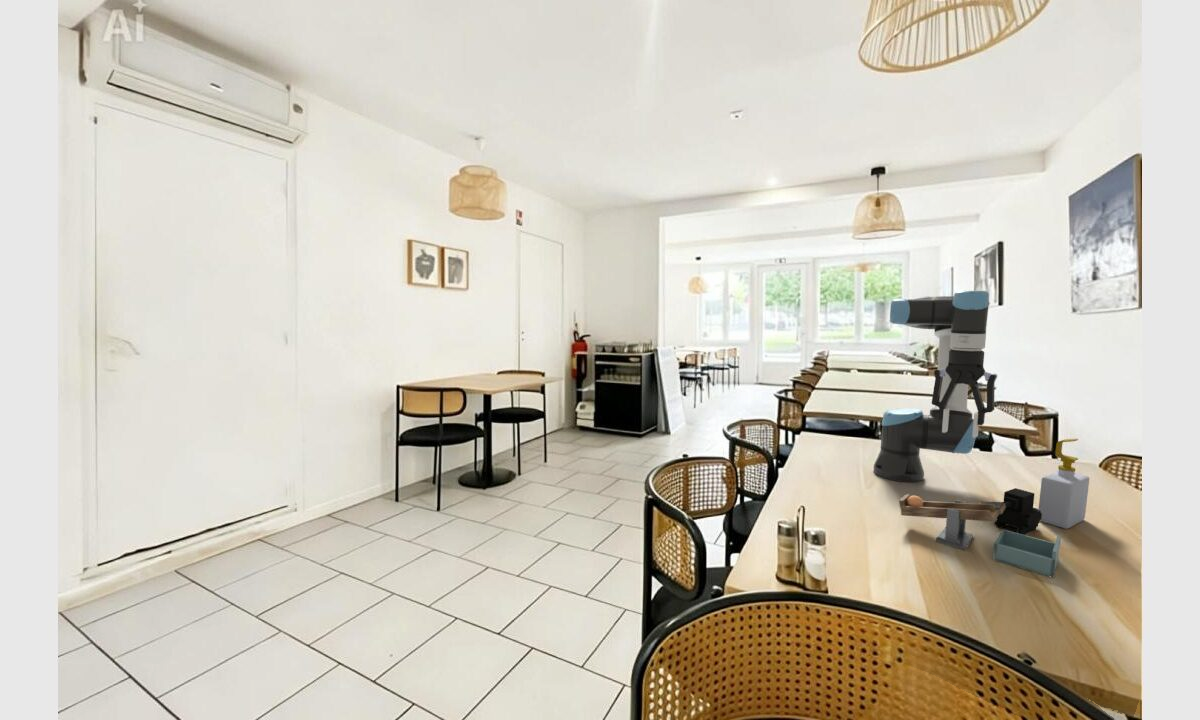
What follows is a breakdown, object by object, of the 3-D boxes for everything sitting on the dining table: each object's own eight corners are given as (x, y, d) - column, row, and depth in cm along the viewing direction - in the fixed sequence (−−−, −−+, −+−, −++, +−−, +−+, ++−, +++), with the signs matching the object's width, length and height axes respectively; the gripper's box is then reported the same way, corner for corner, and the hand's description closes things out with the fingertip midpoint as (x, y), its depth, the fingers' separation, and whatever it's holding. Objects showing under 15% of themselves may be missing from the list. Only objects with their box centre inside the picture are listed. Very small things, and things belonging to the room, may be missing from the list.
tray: (992, 559, 116) (994, 535, 115) (1000, 544, 123) (1002, 521, 122) (1053, 577, 108) (1056, 552, 107) (1058, 560, 115) (1061, 536, 114)
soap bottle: (1067, 530, 130) (1077, 444, 127) (1036, 520, 136) (1044, 438, 133) (1085, 520, 136) (1095, 438, 133) (1054, 511, 142) (1063, 432, 139)
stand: (935, 541, 124) (938, 508, 123) (945, 529, 131) (948, 497, 130) (964, 550, 120) (967, 515, 119) (973, 537, 126) (976, 503, 125)
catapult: (901, 515, 131) (898, 500, 131) (914, 502, 139) (911, 488, 140) (997, 521, 116) (993, 505, 116) (1005, 507, 124) (1002, 491, 124)
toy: (980, 530, 130) (983, 494, 129) (1008, 519, 137) (1011, 485, 135) (1014, 542, 124) (1018, 504, 123) (1041, 530, 130) (1045, 494, 129)
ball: (908, 511, 131) (903, 498, 132) (912, 507, 133) (907, 494, 134) (923, 510, 128) (917, 496, 129) (927, 506, 131) (921, 493, 132)
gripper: (921, 347, 134) (915, 429, 137) (1010, 352, 120) (1002, 444, 123) (928, 346, 139) (922, 425, 142) (1015, 350, 125) (1007, 438, 128)
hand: (959, 433), depth 133 cm, fingers open, 6 cm apart
